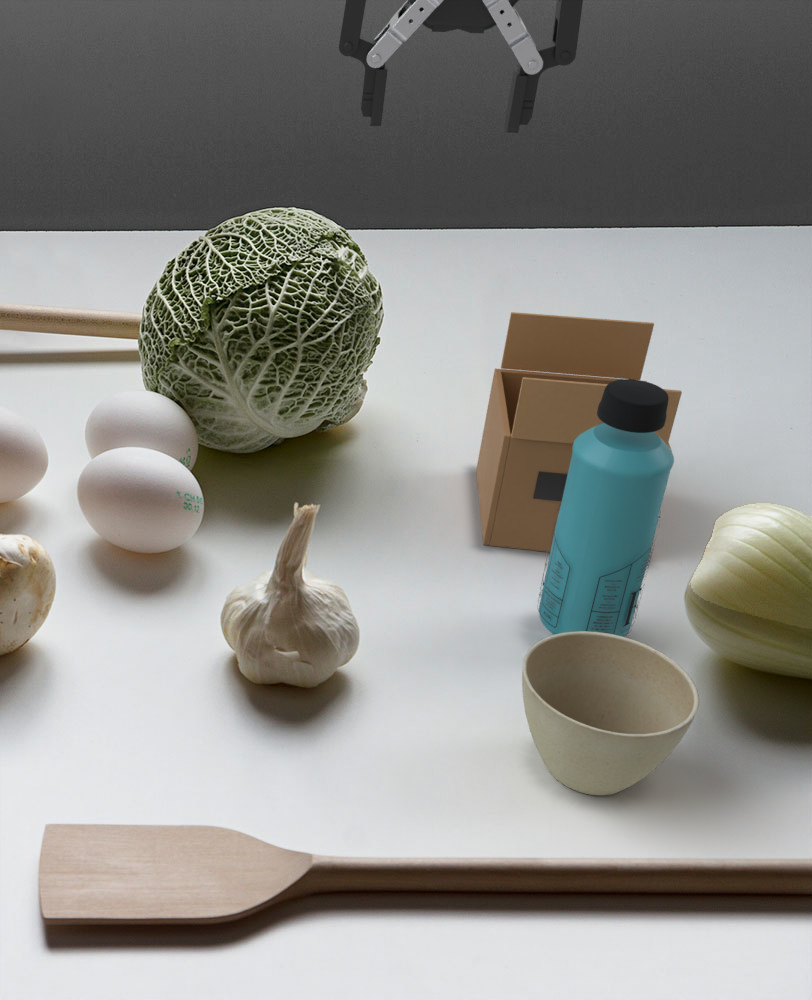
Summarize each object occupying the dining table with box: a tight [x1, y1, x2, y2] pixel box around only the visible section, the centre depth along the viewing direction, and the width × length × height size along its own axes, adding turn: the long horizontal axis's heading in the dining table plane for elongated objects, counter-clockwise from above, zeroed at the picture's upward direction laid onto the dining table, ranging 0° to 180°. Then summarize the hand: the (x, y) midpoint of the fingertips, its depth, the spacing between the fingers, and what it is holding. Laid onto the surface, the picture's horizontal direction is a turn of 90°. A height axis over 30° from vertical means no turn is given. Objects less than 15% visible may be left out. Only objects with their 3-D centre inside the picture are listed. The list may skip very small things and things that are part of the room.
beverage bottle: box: [537, 379, 675, 638], centre depth 88 cm, size 6×7×20 cm
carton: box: [475, 311, 682, 553], centre depth 104 cm, size 12×13×15 cm
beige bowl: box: [521, 631, 700, 796], centre depth 80 cm, size 10×10×7 cm
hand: (442, 127), depth 84 cm, fingers open, 8 cm apart
